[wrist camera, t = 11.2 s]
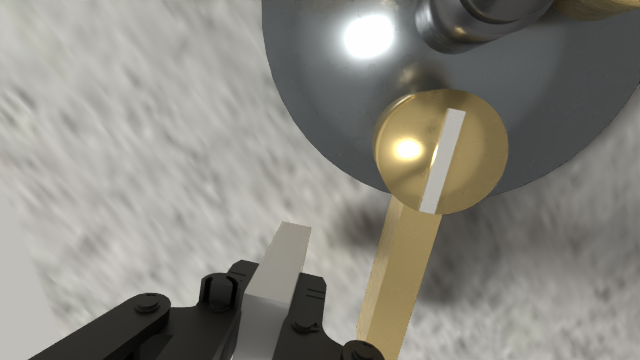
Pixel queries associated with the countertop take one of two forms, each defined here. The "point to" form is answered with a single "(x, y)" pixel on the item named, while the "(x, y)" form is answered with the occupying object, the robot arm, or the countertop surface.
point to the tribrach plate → (451, 72)
